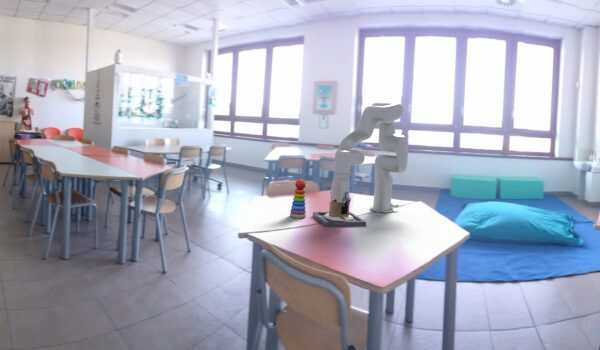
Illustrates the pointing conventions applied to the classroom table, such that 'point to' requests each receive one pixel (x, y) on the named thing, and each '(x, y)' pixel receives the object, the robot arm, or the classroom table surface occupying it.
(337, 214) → the dial
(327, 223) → the dial housing
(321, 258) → the classroom table surface
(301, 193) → the stacking toy
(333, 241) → the classroom table surface
